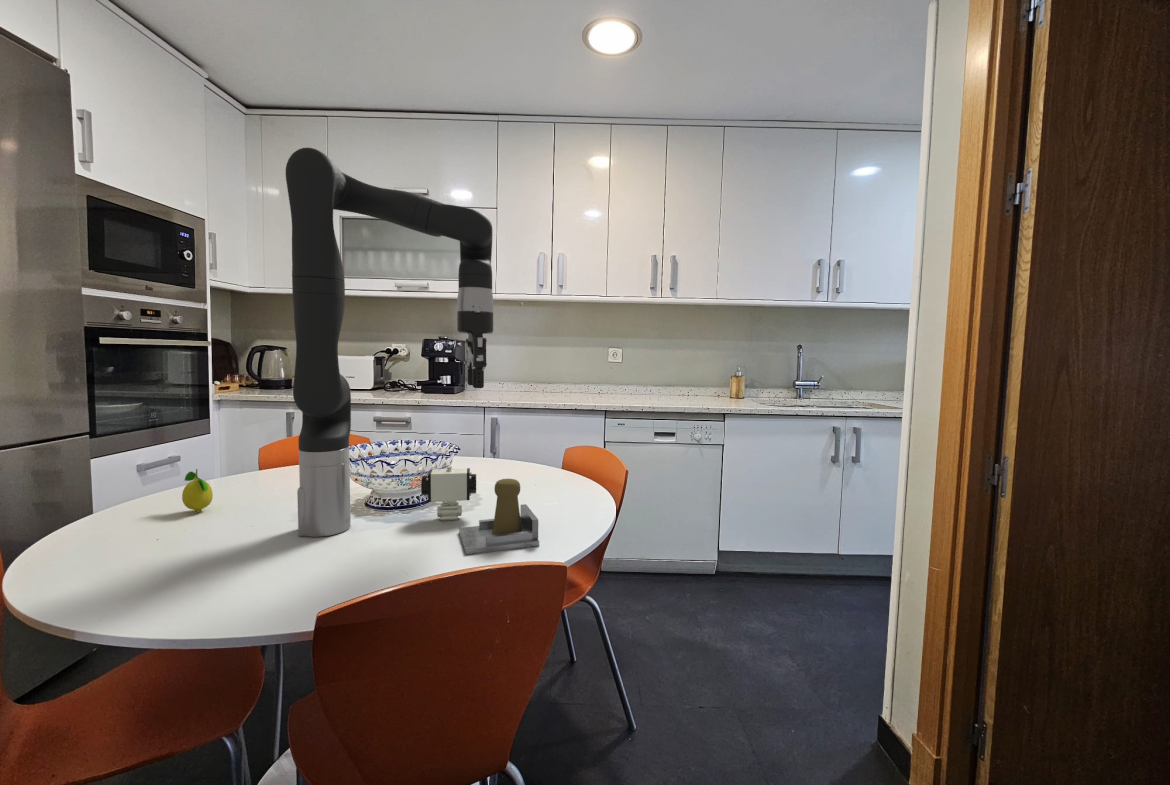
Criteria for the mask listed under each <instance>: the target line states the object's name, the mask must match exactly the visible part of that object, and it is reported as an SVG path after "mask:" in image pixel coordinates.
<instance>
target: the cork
mask: <svg viewBox="0 0 1170 785" xmlns="http://www.w3.org/2000/svg"><path fill="white" fill-rule="evenodd" d="M520 493H521V483H520V482H519V480H518V479H516V478H515V479H514V478H501V479H499V480H497V481H496V482H495V484H494V494H495V495H496V503H495V512H494V518H493V519H494V525H493V532H492V535H496V534H505V533H514V532H522V528H521V520H520V512H521V510H520V505H519V498H518V496H519V495H520Z"/></svg>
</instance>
